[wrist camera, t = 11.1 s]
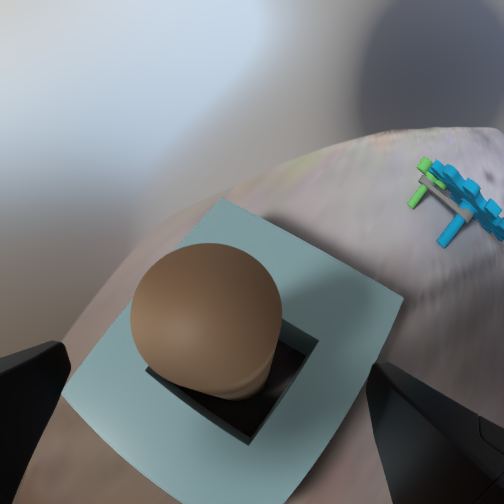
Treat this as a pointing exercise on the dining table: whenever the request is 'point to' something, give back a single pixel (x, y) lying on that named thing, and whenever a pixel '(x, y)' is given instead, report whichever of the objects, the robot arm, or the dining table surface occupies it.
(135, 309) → the peg
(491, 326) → the dining table surface
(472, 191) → the gear
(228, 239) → the housing
